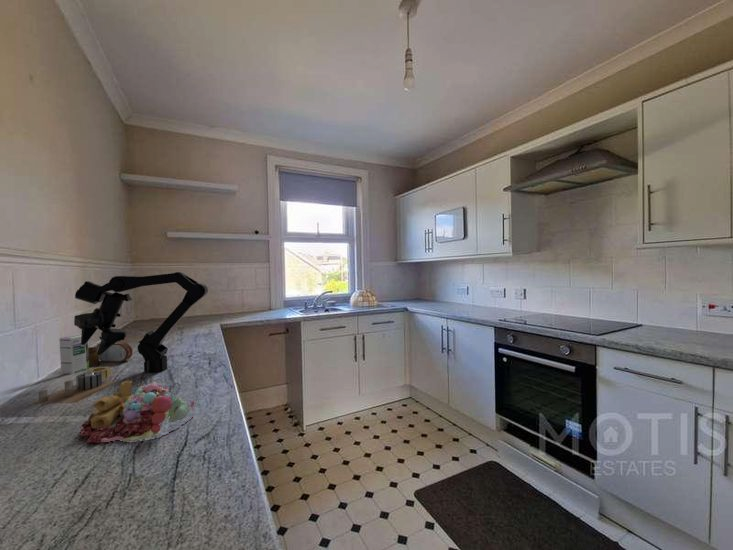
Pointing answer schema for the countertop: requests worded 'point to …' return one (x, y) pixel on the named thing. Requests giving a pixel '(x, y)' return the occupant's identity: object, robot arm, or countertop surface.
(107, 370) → the brass gear
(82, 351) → the syrup box
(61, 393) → the board
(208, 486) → the countertop surface
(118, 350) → the tin
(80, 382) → the gear
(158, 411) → the candy landscape model
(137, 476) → the countertop surface
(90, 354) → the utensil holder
